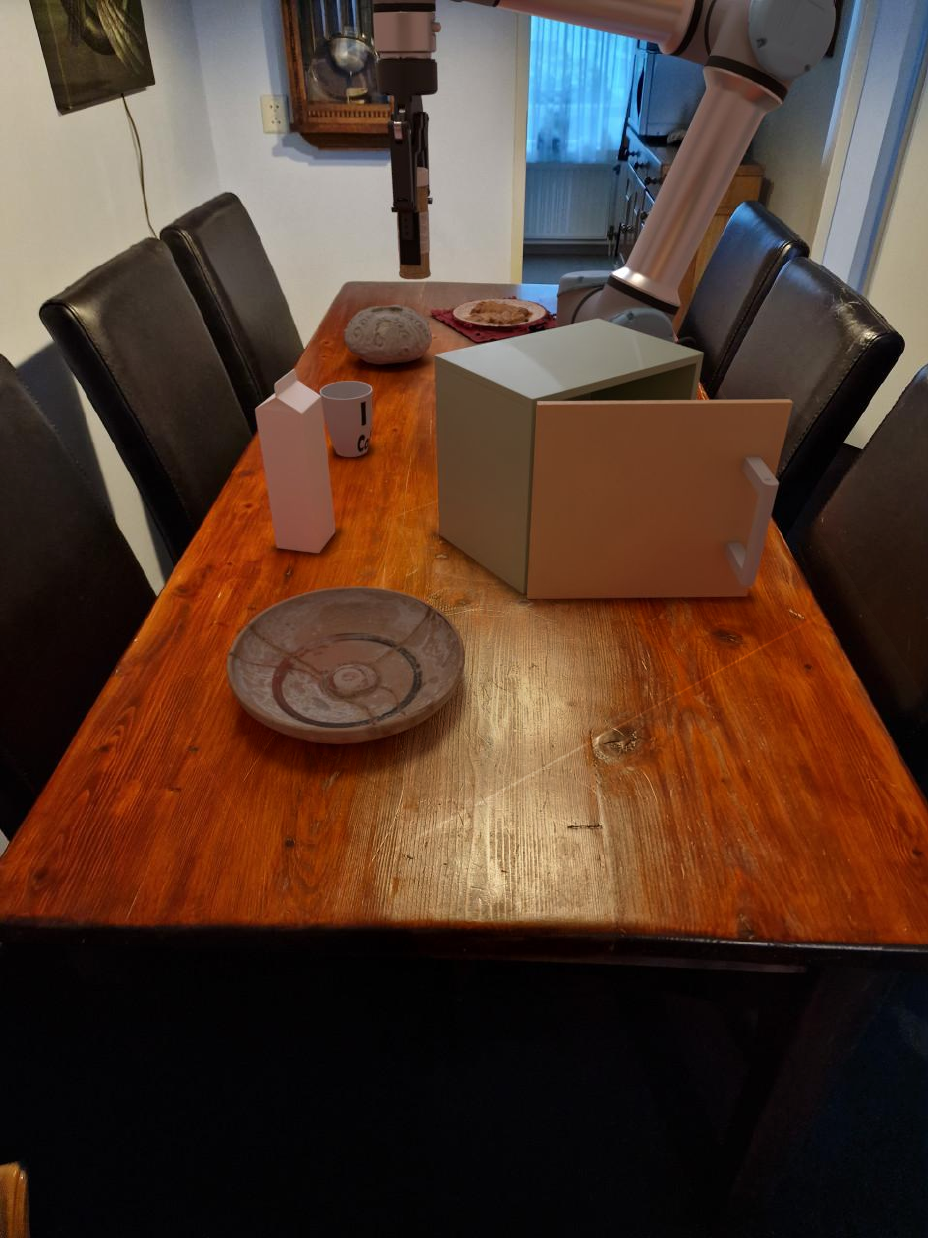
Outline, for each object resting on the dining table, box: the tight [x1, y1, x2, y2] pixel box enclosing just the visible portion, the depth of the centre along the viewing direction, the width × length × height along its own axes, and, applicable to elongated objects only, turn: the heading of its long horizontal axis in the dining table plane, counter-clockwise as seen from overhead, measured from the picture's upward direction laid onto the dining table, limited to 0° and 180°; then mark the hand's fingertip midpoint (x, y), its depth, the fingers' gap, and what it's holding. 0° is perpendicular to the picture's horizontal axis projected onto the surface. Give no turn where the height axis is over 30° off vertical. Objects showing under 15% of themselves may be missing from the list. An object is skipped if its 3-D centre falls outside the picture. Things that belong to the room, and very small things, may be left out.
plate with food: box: [429, 295, 557, 343], centre depth 191 cm, size 24×26×4 cm
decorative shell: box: [343, 304, 433, 366], centre depth 166 cm, size 18×18×10 cm
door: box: [526, 398, 794, 600], centre depth 87 cm, size 8×26×24 cm, turn 91°
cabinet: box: [434, 319, 705, 595], centre depth 102 cm, size 18×26×24 cm
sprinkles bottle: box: [396, 167, 432, 280], centre depth 111 cm, size 5×5×14 cm
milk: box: [254, 368, 336, 554], centre depth 102 cm, size 6×6×22 cm
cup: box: [319, 380, 374, 458], centre depth 129 cm, size 8×8×10 cm
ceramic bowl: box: [226, 585, 466, 744], centre depth 82 cm, size 23×24×5 cm
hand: (414, 260), depth 113 cm, fingers closed on sprinkles bottle, 4 cm apart
